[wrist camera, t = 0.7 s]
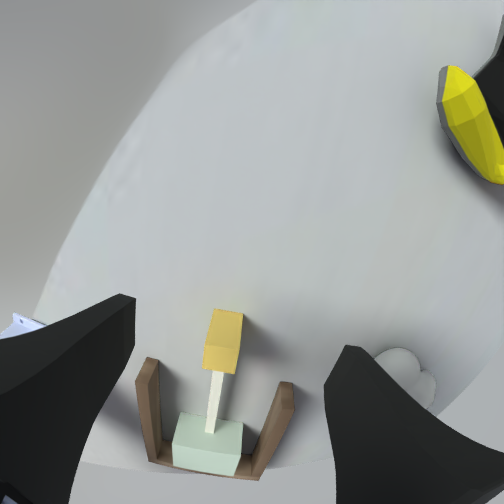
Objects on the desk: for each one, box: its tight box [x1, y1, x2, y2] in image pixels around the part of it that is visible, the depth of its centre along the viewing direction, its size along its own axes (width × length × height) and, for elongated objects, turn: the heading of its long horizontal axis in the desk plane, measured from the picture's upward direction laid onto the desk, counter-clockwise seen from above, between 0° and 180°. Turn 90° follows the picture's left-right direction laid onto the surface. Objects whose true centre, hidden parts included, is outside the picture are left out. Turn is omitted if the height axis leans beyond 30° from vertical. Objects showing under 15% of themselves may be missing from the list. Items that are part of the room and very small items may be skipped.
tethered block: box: [172, 309, 243, 476], centre depth 21 cm, size 6×18×4 cm, turn 170°
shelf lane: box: [135, 357, 295, 481], centre depth 22 cm, size 12×14×3 cm
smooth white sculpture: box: [374, 348, 436, 409], centre depth 20 cm, size 4×8×5 cm
